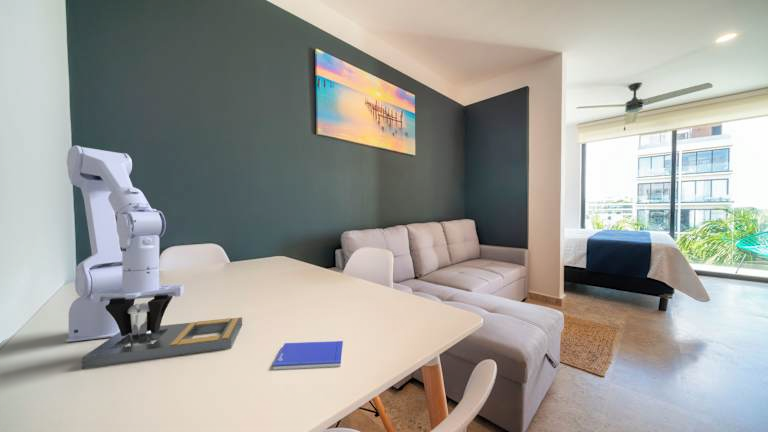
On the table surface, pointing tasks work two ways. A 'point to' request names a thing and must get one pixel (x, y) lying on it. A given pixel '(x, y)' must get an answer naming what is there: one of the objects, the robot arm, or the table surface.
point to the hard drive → (309, 355)
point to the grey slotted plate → (166, 343)
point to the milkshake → (140, 324)
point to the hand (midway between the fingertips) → (141, 332)
